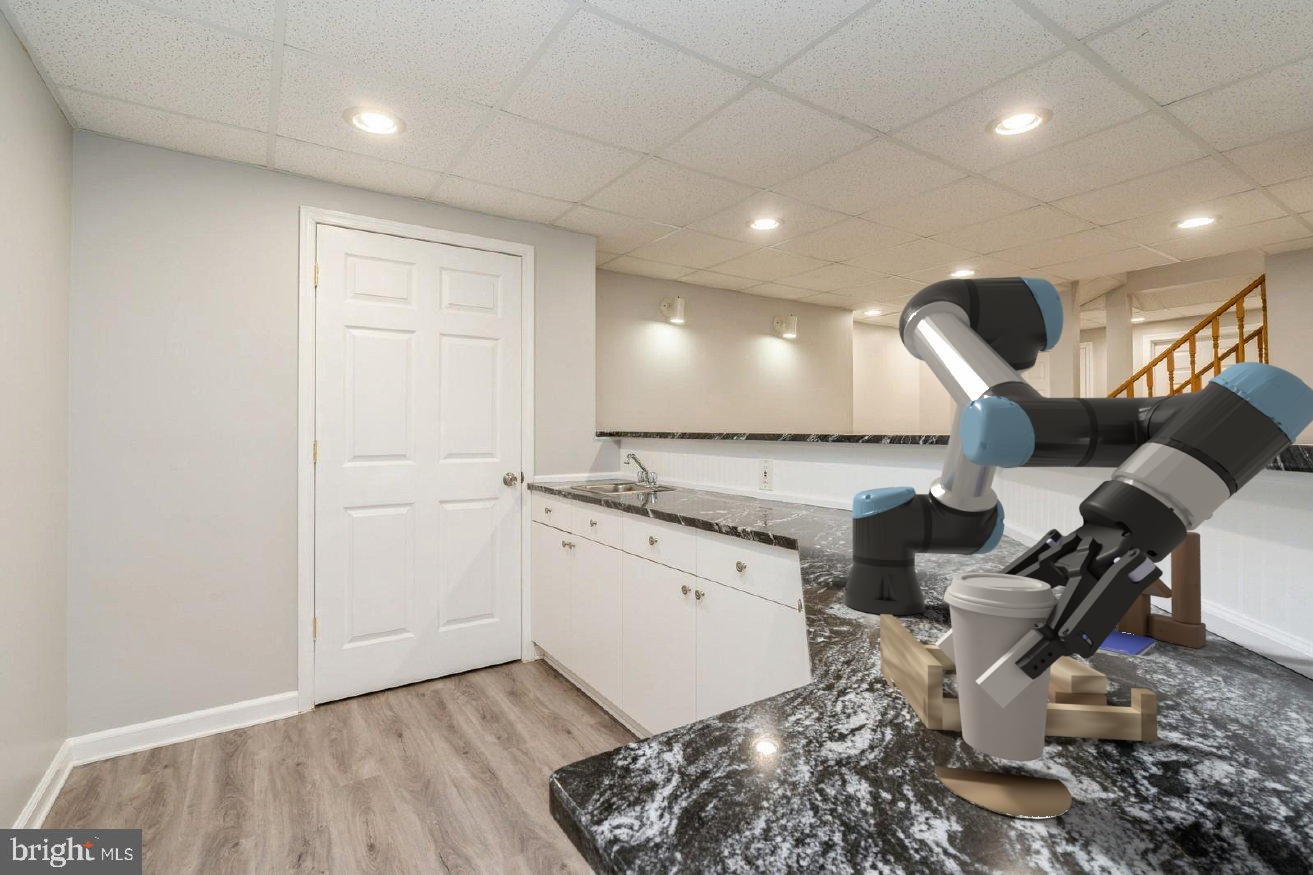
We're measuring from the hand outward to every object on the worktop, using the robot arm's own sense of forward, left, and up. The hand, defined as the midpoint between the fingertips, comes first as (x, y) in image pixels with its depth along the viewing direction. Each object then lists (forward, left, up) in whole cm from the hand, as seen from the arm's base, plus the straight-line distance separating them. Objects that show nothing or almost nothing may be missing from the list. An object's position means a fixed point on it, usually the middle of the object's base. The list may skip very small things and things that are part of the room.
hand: (965, 672), depth 57 cm
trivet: (+2, +3, -10) cm, 11 cm away
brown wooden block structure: (-12, +69, -10) cm, 71 cm away
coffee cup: (+2, +3, -7) cm, 7 cm away
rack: (-9, +19, -10) cm, 23 cm away
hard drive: (-14, +57, -11) cm, 60 cm away
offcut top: (-4, +25, -7) cm, 27 cm away
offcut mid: (-4, +26, -9) cm, 28 cm away
